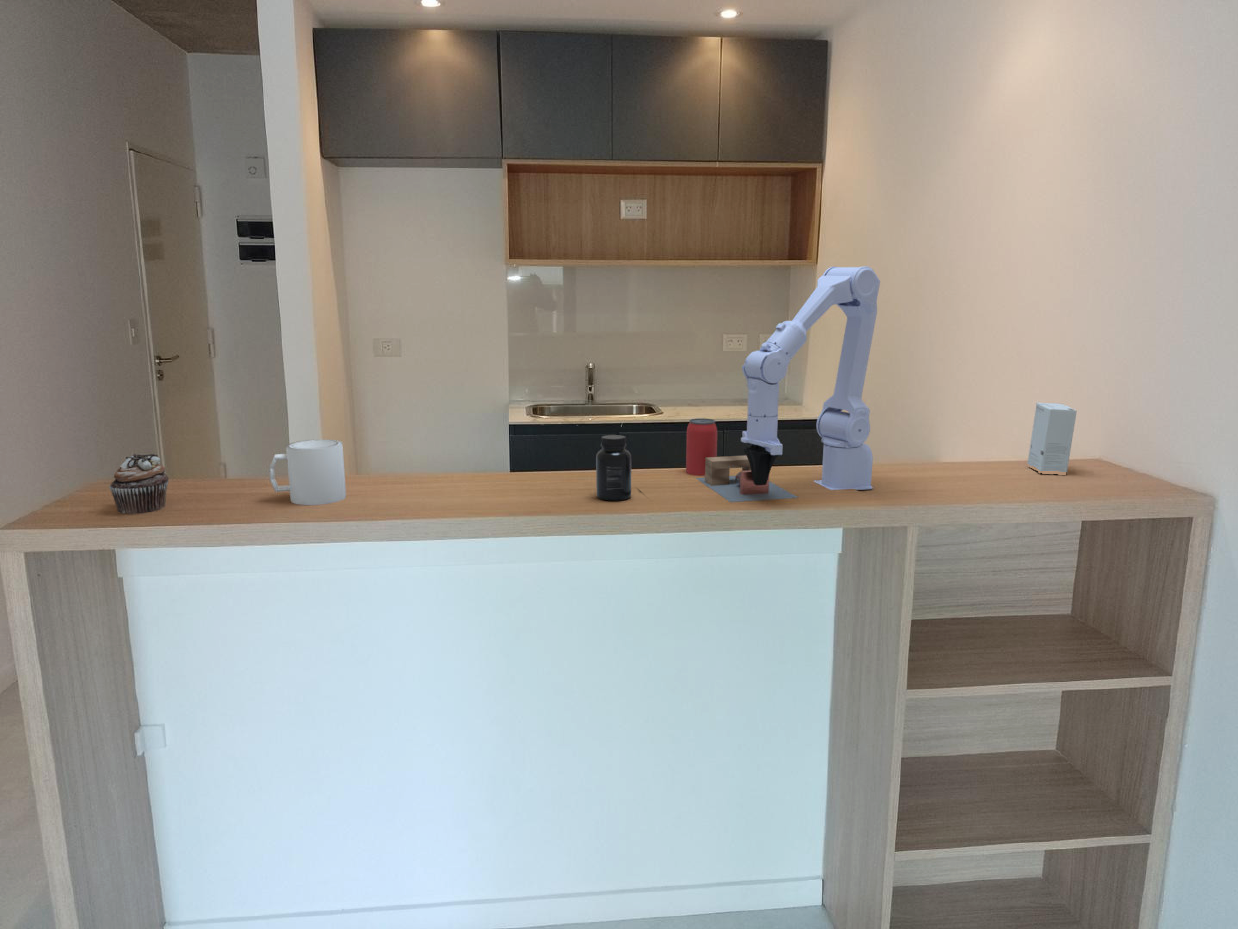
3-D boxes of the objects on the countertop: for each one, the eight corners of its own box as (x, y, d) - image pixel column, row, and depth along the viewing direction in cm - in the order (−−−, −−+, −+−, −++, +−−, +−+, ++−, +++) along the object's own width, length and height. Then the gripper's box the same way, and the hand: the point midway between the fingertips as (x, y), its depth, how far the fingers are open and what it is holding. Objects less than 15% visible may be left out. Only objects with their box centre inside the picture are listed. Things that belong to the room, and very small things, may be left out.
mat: (757, 477, 186) (757, 474, 186) (798, 500, 167) (798, 497, 167) (695, 480, 183) (695, 478, 182) (730, 505, 164) (730, 501, 164)
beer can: (714, 479, 184) (716, 423, 182) (683, 477, 186) (685, 422, 183) (717, 472, 191) (719, 418, 188) (687, 470, 192) (688, 417, 189)
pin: (768, 493, 170) (769, 470, 169) (741, 494, 169) (742, 472, 168) (754, 484, 177) (754, 463, 176) (728, 486, 176) (729, 464, 175)
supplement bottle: (637, 495, 170) (638, 435, 168) (619, 503, 165) (620, 441, 162) (607, 491, 174) (607, 432, 171) (589, 498, 168) (589, 437, 166)
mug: (270, 508, 161) (265, 452, 158) (273, 495, 170) (269, 442, 168) (346, 502, 165) (342, 448, 162) (345, 490, 174) (342, 438, 172)
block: (758, 477, 183) (759, 454, 182) (766, 482, 179) (767, 458, 178) (704, 481, 180) (705, 457, 179) (711, 485, 176) (712, 461, 175)
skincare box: (1026, 467, 196) (1033, 402, 193) (1054, 467, 196) (1061, 402, 193) (1040, 475, 188) (1048, 407, 185) (1069, 476, 188) (1077, 408, 185)
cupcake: (121, 503, 164) (115, 451, 162) (177, 500, 166) (171, 449, 164) (104, 516, 155) (97, 462, 153) (163, 513, 157) (157, 459, 155)
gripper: (728, 409, 170) (726, 477, 173) (758, 421, 156) (755, 494, 159) (762, 408, 172) (759, 475, 175) (794, 420, 158) (790, 492, 161)
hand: (759, 484), depth 167 cm, fingers closed
